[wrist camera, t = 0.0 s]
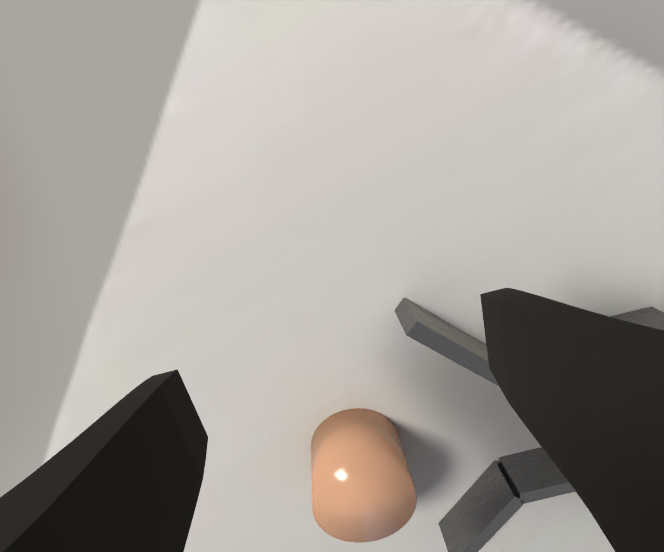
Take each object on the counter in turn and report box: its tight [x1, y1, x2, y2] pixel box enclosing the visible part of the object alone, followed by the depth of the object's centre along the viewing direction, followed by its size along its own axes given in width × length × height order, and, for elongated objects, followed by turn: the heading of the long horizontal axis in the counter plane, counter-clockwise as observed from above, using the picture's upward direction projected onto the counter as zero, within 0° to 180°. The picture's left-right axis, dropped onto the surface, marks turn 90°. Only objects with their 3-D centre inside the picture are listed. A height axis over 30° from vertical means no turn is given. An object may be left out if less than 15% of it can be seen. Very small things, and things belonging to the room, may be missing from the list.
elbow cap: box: [311, 408, 417, 542], centre depth 22 cm, size 5×5×4 cm
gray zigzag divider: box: [395, 298, 664, 552], centre depth 22 cm, size 17×13×2 cm
